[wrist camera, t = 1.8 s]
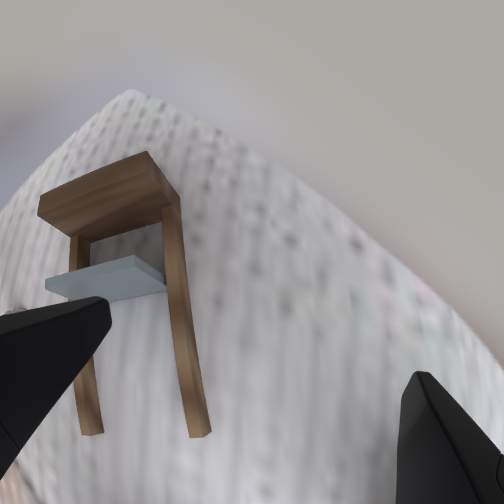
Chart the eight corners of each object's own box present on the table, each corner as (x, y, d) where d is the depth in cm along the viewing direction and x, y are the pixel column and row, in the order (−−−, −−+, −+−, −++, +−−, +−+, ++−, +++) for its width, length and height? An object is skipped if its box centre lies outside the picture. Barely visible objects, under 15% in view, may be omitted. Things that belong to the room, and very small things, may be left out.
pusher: (171, 289, 24) (134, 266, 18) (90, 306, 24) (45, 289, 19) (170, 279, 24) (134, 254, 19) (89, 297, 25) (45, 279, 19)
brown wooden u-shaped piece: (211, 431, 20) (174, 456, 13) (95, 432, 21) (40, 442, 14) (179, 197, 27) (146, 150, 21) (83, 227, 28) (40, 195, 22)
